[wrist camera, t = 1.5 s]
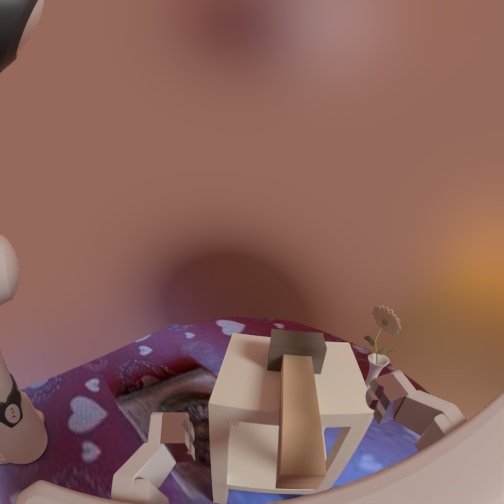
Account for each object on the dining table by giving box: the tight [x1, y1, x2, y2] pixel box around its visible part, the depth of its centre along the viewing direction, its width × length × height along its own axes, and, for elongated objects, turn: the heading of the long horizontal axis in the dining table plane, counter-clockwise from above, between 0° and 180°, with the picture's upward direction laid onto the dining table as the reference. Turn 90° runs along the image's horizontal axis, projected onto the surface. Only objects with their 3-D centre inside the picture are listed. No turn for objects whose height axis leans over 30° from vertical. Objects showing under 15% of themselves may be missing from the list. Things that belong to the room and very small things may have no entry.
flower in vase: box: [364, 305, 401, 390], centre depth 51 cm, size 13×11×25 cm
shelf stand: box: [209, 333, 374, 504], centre depth 31 cm, size 16×14×26 cm
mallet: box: [267, 329, 327, 489], centre depth 21 cm, size 6×18×4 cm, turn 174°
